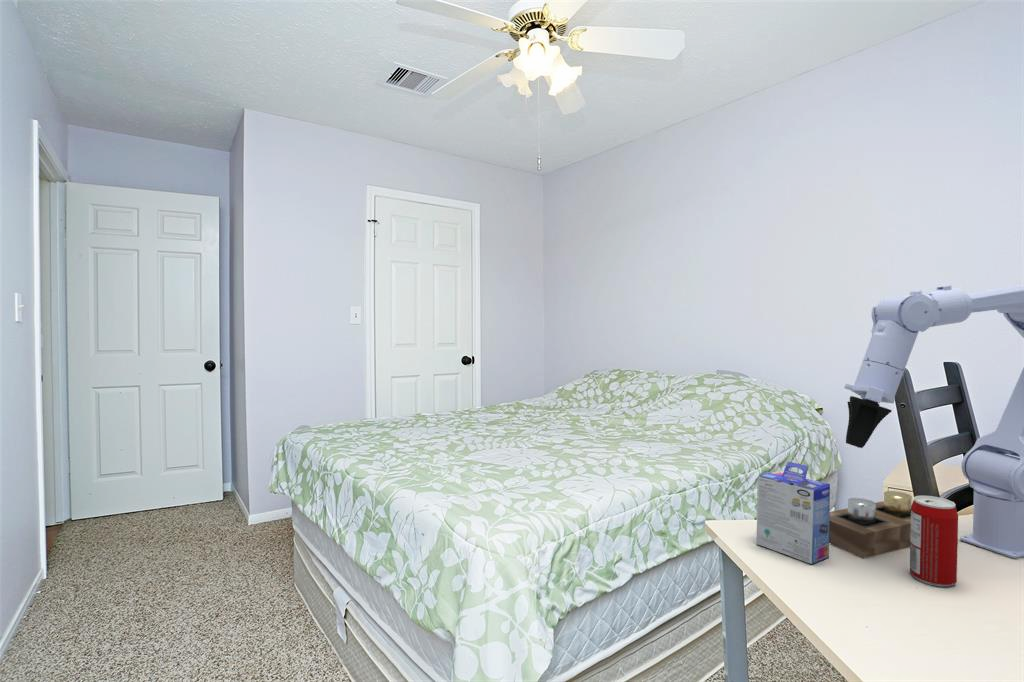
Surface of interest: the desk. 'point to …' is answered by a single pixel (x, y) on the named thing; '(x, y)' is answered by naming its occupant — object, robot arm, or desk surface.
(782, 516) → the ink cartridge box
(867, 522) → the steel peg
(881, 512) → the brown peg hole block
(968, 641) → the desk surface
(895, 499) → the brass peg
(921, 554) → the soda can
